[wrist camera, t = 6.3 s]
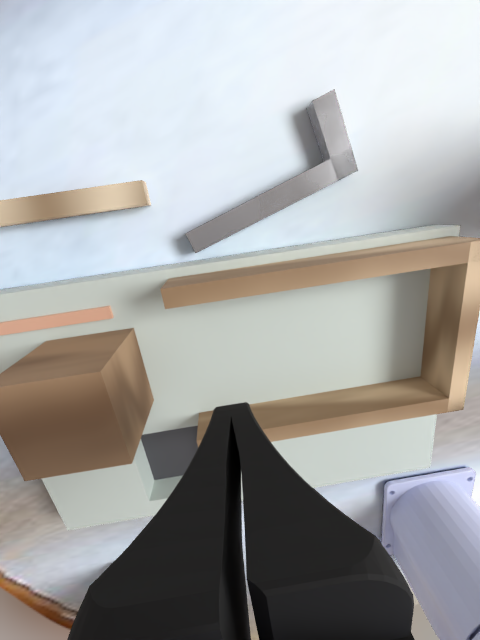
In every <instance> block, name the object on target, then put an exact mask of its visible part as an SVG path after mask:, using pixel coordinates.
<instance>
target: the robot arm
mask: <svg viewBox="0 0 480 640" xmlns="http://www.w3.org/2000/svg"><path fill="white" fill-rule="evenodd" d="M241 474H242V488H243V504H244V522H245V542H246V567H247V582H248V587H249V591H250V596H251V601H252V606H253V611H254V616H255V621H256V626H257V631H258V635H259V640H414V638H413V636H412V634H411V625H412V617H413V608H414V600H413V594H412V592H411V590H410V588H409V586H408V584H407V582H406V580H405V579H404V577H403V575H402V573H401V572H400V570H399V569H398V567H397V566H396V564H395V562H394V561H393V559H392V558H391V556H390V555H394V556H395V558H396V560H397V562H398V564H399V566H400V567H401V569H402V571H403V573H404V575H405V577H406V579H407V581H408V583H409V584H410V586H411V588H412V590H413V592H414V594H415V596H416V598H417V600H418V602H419V603H420V605H421V607H422V609H423V611H424V613H425V615H426V617H427V619H428V620H429V622H430V624H431V626H432V628H433V630H434V631H435V633H436V635H437V636H438V638H439V639H440V640H480V507H479V506H478V505H477V504H476V502H475V501H474V500H473V499H472V498H471V496H472V491H473V486H474V481H475V476H476V472H475V471H474V470H473V469H472V468H470V467H467V468H461V469H456V470H450V471H444V472H438V473H433V474H427V475H421V476H415V477H410V478H404V479H398V480H392V481H388V482H387V483H386V484H385V486H384V505H383V523H382V542H380V541H379V540H378V538H377V537H376V536H375V535H373V534H372V533H370V532H369V531H367V530H366V529H364V528H363V527H361V526H360V525H359V524H357V523H356V522H354V521H353V520H352V519H350V518H349V517H348V516H346V515H345V514H344V513H342V512H341V511H340V510H338V509H337V508H336V507H335V506H333V505H332V504H331V503H330V502H328V501H327V500H326V499H325V498H324V497H323V496H322V495H320V494H319V493H318V492H317V491H316V490H315V489H314V488H312V487H311V486H310V485H309V484H308V483H307V482H306V481H305V480H304V479H303V478H302V477H301V476H300V475H299V474H298V473H297V472H296V471H295V470H294V469H293V468H292V467H291V466H290V465H289V464H288V463H287V462H286V460H285V459H284V458H283V457H282V456H281V454H280V453H279V452H278V451H277V450H276V448H275V447H274V446H273V444H272V443H271V442H270V440H269V439H268V438H267V436H266V435H265V433H264V432H263V430H262V429H261V427H260V425H259V424H258V422H257V420H256V419H255V417H254V415H253V413H252V411H251V408H250V405H249V404H248V403H247V402H244V403H238V404H231V405H225V406H219V407H216V408H215V409H214V410H213V414H212V417H211V420H210V422H209V425H208V427H207V430H206V432H205V434H204V437H203V439H202V441H201V443H200V445H199V447H198V449H197V451H196V453H195V455H194V457H193V459H192V461H191V462H190V464H189V466H188V468H187V470H186V471H185V473H184V475H183V476H182V478H181V479H180V481H179V482H178V484H177V486H176V487H175V489H174V490H173V492H172V493H171V494H170V496H169V497H168V499H167V500H166V501H165V503H164V504H163V505H162V507H161V508H160V510H159V511H158V512H157V513H156V515H155V516H154V517H153V519H152V520H151V521H150V522H149V523H148V524H147V526H146V527H145V528H144V529H143V530H142V532H141V533H140V534H139V535H138V536H137V537H136V539H135V540H134V541H133V542H132V543H131V544H130V546H129V547H128V548H127V549H126V550H125V551H124V552H123V553H122V554H121V555H120V556H119V557H118V558H117V559H116V560H115V561H114V562H113V563H112V564H111V565H110V566H109V567H108V568H107V569H106V570H105V571H104V572H103V574H102V575H101V576H100V577H99V578H98V579H97V580H95V581H94V582H93V583H92V584H91V585H90V586H89V589H88V591H87V593H86V596H85V598H84V600H83V602H82V604H81V607H80V609H79V611H78V613H77V616H76V618H75V620H74V623H73V626H72V628H71V631H70V634H69V637H68V640H251V636H250V626H249V615H248V605H247V594H246V583H245V572H244V561H243V550H242V523H241Z"/></svg>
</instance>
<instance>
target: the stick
mask: <svg viewBox="0 0 480 640" xmlns="http://www.w3.org/2000/svg"><path fill="white" fill-rule="evenodd" d="M150 205H151V203H150V199H149V194H148V190H147V186H146V182H144V181H142V180H140V181H133V182H126V183H119V184H112V185H105V186H98V187H91V188H84V189H77V190H70V191H63V192H56V193H49V194H42V195H35V196H28V197H21V198H14V199H8V200H1V201H0V227H5V226H12V225H19V224H26V223H33V222H40V221H47V220H53V219H60V218H67V217H74V216H81V215H88V214H95V213H102V212H108V211H115V210H122V209H129V208H136V207H143V206H150Z"/></svg>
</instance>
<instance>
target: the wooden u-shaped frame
mask: <svg viewBox="0 0 480 640" xmlns="http://www.w3.org/2000/svg"><path fill="white" fill-rule="evenodd" d="M424 269H431V271H430V281H429V292H428V302H427V313H426V323H425V334H424V344H423V354H422V365H421V375H420V377H414V378H407V379H401V380H395V381H389V382H383V383H377V384H371V385H365V386H359V387H353V388H346V389H340V390H334V391H328V392H322V393H316V394H310V395H304V396H298V397H292V398H285V399H279V400H273V401H267V402H261V403H255V404H249V405H250V408H251V411H252V413H253V415H254V417H255V419H256V420H257V422H258V424H259V425H260V427H261V429H262V430H263V432H264V433H265V435H266V436H267V438H268V439H269V440H270V442H274V441H280V440H286V439H292V438H298V437H303V436H309V435H315V434H321V433H327V432H333V431H339V430H345V429H351V428H357V427H363V426H369V425H375V424H381V423H387V422H393V421H399V420H405V419H411V418H417V417H423V416H429V415H434V414H440V413H446V412H452V411H458V410H463V408H464V402H465V396H466V390H467V383H468V377H469V371H470V365H471V359H472V353H473V347H474V340H475V334H476V328H477V322H478V316H479V310H480V238H471V237H457V236H448V237H441V238H434V239H428V240H421V241H415V242H408V243H401V244H395V245H388V246H381V247H375V248H368V249H361V250H355V251H348V252H341V253H335V254H328V255H322V256H315V257H308V258H302V259H295V260H288V261H282V262H275V263H268V264H262V265H255V266H249V267H242V268H235V269H229V270H222V271H215V272H209V273H202V274H195V275H189V276H182V277H175V278H169V279H168V280H167V281H166V282H165V284H164V285H163V286H162V287H161V289H160V290H161V295H162V299H163V303H164V307H165V309H170V308H177V307H183V306H190V305H196V304H203V303H209V302H216V301H222V300H229V299H235V298H242V297H248V296H255V295H261V294H268V293H274V292H281V291H287V290H294V289H301V288H307V287H314V286H320V285H327V284H333V283H340V282H346V281H353V280H359V279H366V278H372V277H379V276H385V275H392V274H398V273H405V272H411V271H418V270H424ZM212 414H213V410H212V411H206V412H200V413H199V418H198V429H197V440H196V441H197V445H198V447H199V445H200V443H201V441H202V439H203V437H204V434H205V432H206V430H207V427H208V425H209V422H210V420H211V417H212Z"/></svg>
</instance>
